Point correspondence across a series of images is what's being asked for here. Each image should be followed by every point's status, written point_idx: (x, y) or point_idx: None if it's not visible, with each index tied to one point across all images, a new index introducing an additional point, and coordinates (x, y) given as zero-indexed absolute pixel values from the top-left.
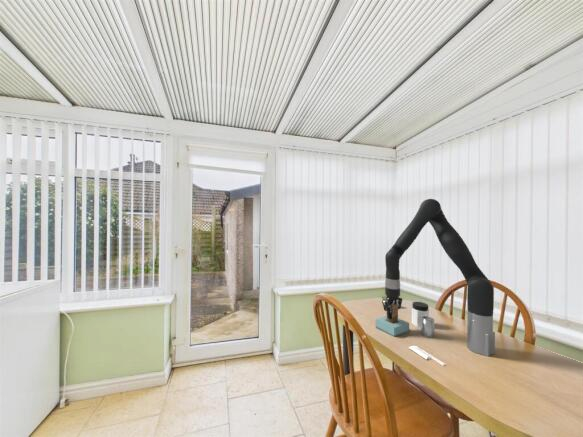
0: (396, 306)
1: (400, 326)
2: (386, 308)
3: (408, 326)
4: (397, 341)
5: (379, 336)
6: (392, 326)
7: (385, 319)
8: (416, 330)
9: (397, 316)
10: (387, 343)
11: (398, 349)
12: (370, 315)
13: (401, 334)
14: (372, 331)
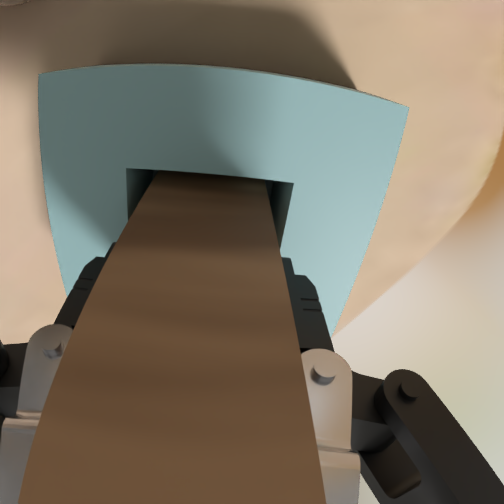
0: (108, 466)
1: (258, 72)
2: (452, 445)
3: (76, 68)
4: (403, 36)
5: (431, 190)
6: (391, 141)
7: None
8: (8, 69)
9: (130, 235)
10: (486, 93)
11: (496, 3)
12: None
13: (232, 67)
14: (387, 269)
